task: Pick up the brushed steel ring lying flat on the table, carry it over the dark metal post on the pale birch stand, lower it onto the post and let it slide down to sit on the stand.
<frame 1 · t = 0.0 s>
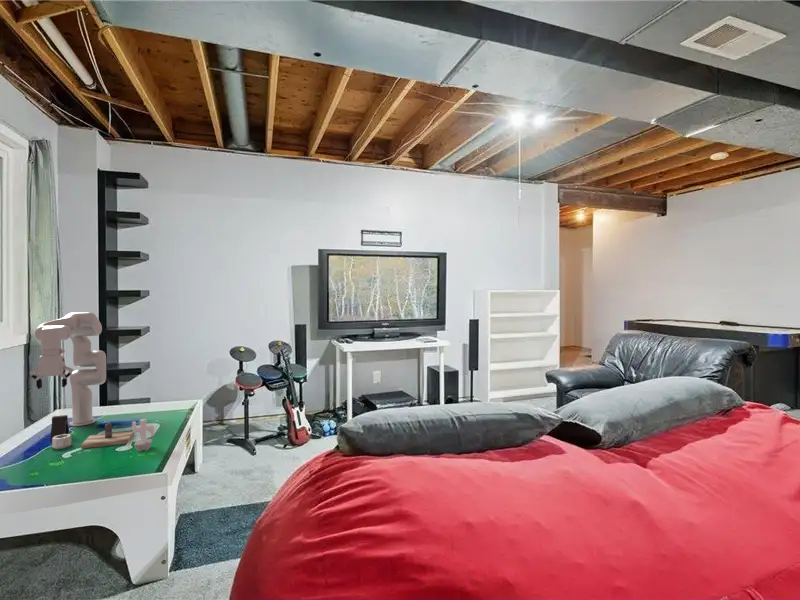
hand: (52, 387, 211), 31 cm above the table, tool pointing down, fingers open, 9 cm apart
steel ring: (62, 446, 217), on the table
figurine: (143, 449, 214), on the table
post stand: (108, 441, 224), on the table
phone stand: (60, 438, 228), on the table
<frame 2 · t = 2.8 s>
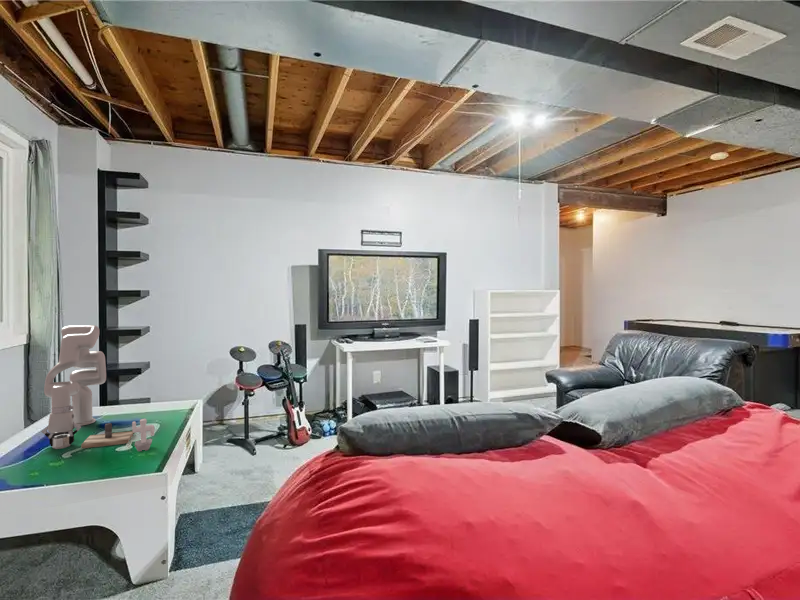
hand: (61, 444, 217), 1 cm above the table, tool pointing down, fingers closed on steel ring, 7 cm apart
steel ring: (62, 446, 217), on the table, touching gripper
everything else where it was.
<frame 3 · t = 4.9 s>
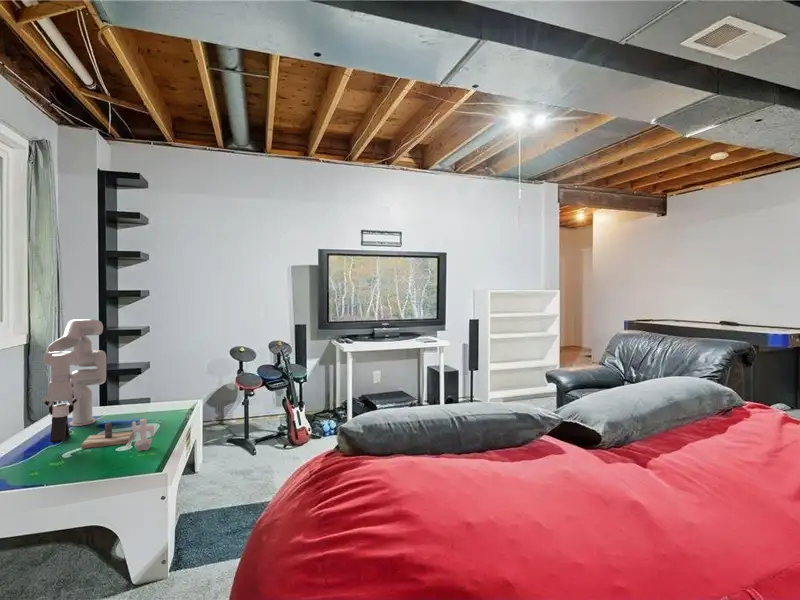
hand: (61, 412, 217), 17 cm above the table, tool pointing down, fingers closed on steel ring, 7 cm apart
steel ring: (61, 414, 217), point 16 cm above the table, touching gripper
everything else where it was.
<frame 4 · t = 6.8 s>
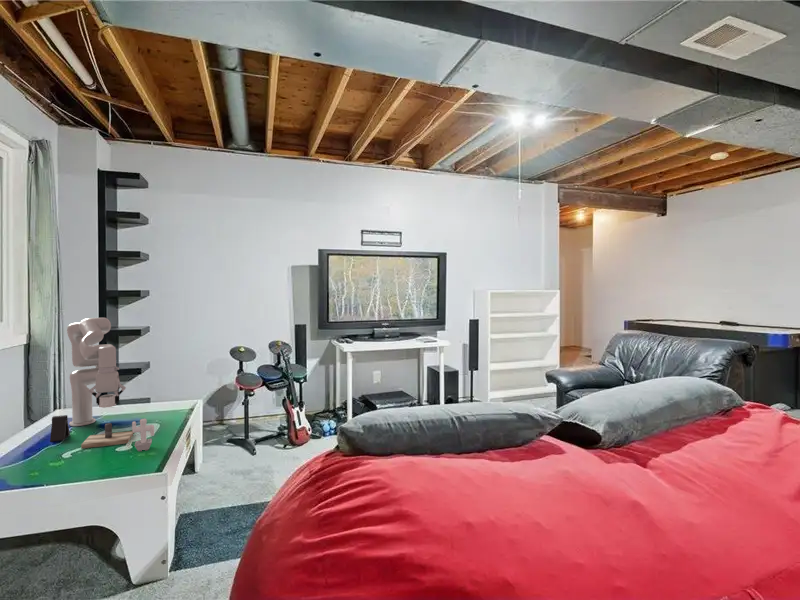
hand: (107, 403, 224), 20 cm above the table, tool pointing down, fingers closed on steel ring, 7 cm apart
steel ring: (107, 405, 224), point 19 cm above the table, touching gripper
everything else where it was.
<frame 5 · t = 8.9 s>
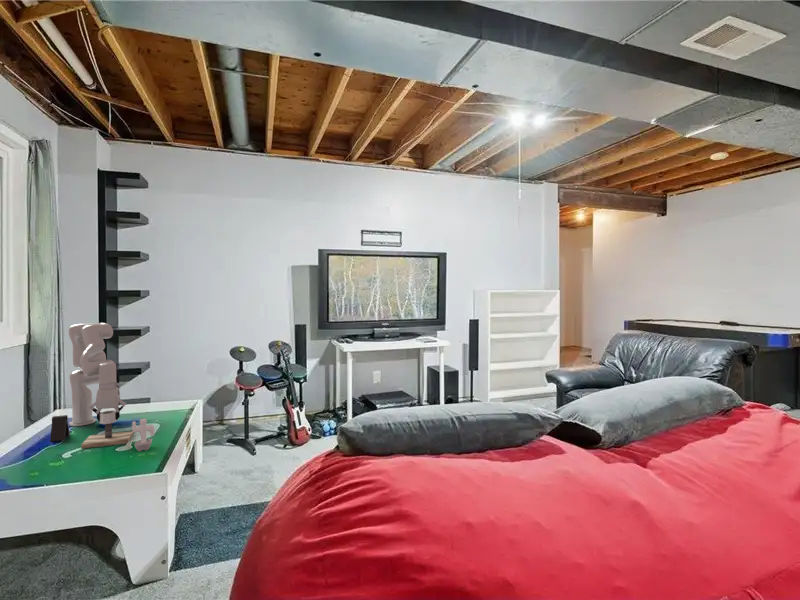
hand: (108, 419, 224), 11 cm above the table, tool pointing down, fingers closed on steel ring, 7 cm apart
steel ring: (108, 421, 224), point 10 cm above the table, touching gripper
everything else where it was.
when the fingers open (8 cm above the table, at t = 10.6 s): steel ring drops 5 cm, resting on post stand.
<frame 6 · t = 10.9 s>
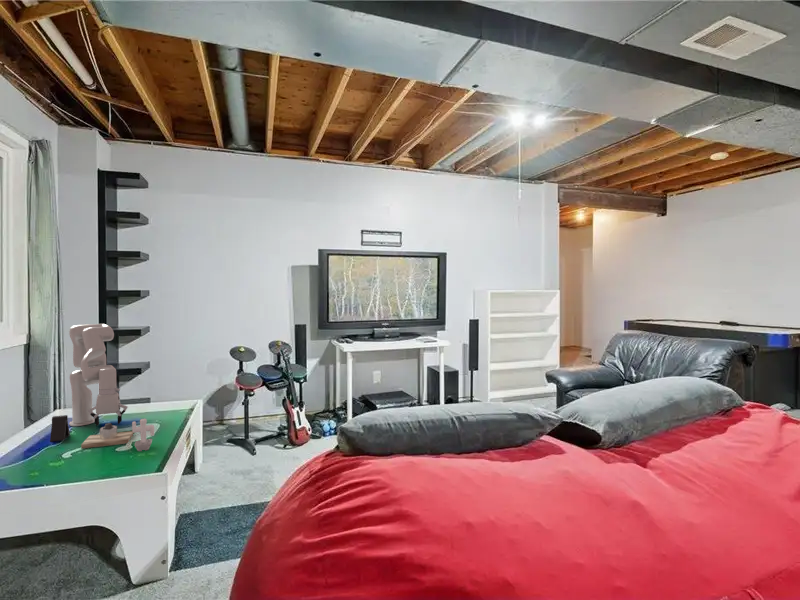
hand: (108, 424, 224), 9 cm above the table, tool pointing down, fingers open, 9 cm apart
steel ring: (108, 437, 224), point 2 cm above the table, touching post stand
everything else where it was.
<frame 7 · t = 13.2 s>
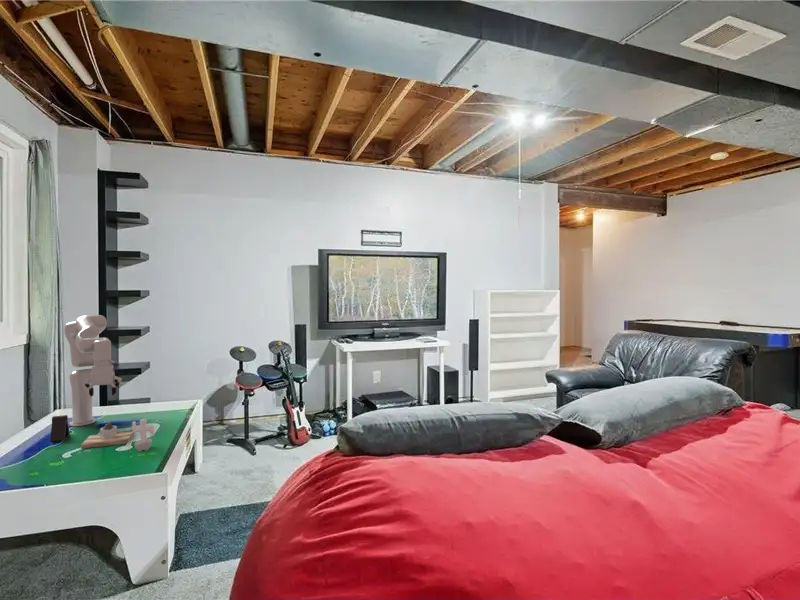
hand: (102, 395, 227), 23 cm above the table, tool pointing down, fingers open, 9 cm apart
nothing on the table moved.
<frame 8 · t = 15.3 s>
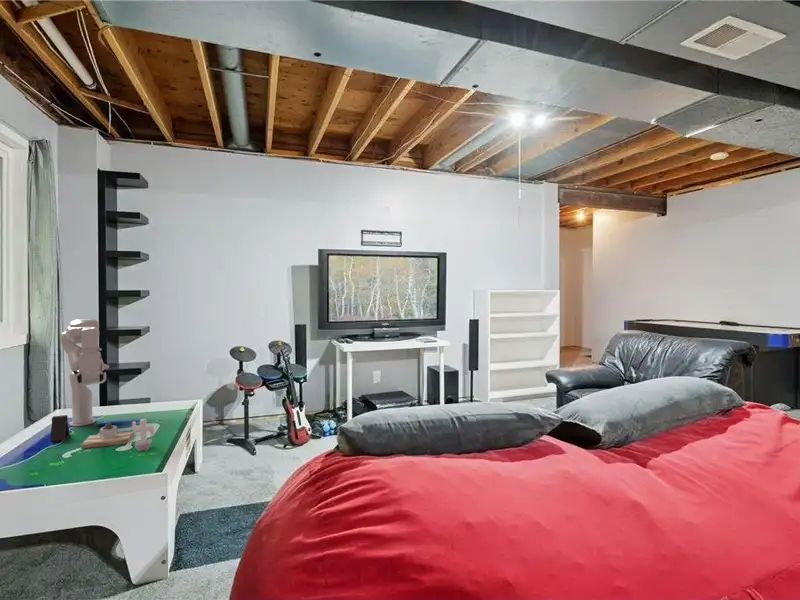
hand: (90, 381, 236), 28 cm above the table, tool pointing down, fingers open, 9 cm apart
nothing on the table moved.
at the end: steel ring 0.1 cm from the post stand (horizontally); steel ring point 2.0 cm above the table; the gripper is holding nothing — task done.
